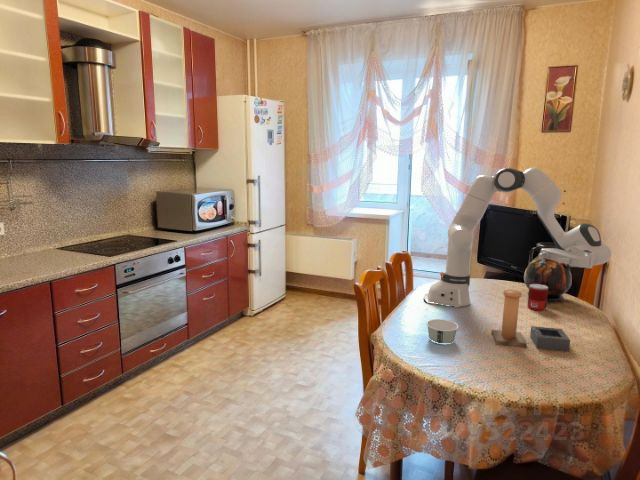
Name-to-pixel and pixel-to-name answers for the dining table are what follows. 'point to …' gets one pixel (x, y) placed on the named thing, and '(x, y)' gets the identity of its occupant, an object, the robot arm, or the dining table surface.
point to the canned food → (537, 297)
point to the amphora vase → (548, 274)
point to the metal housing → (549, 338)
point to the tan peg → (510, 313)
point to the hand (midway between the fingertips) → (548, 258)
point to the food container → (442, 330)
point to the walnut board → (511, 342)
